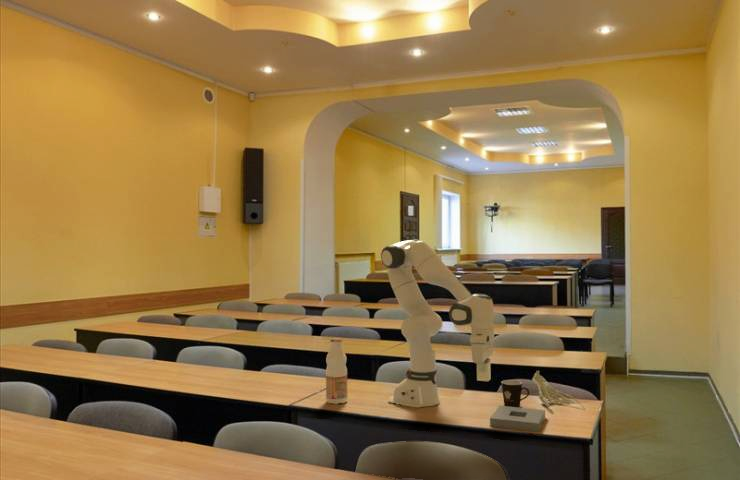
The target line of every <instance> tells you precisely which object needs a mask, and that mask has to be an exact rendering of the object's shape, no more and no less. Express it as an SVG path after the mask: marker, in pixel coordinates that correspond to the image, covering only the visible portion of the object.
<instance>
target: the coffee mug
mask: <svg viewBox="0 0 740 480" xmlns="http://www.w3.org/2000/svg"><path fill="white" fill-rule="evenodd" d="M500 383H501V390H502V397H503V404H504V405H503V406H508V407H518V408H521V402H522V401H523V400H525V399H527V398H528V397H529V395H530V391H529V389H528V388H527V387H524V386H523V382H522V381H520V380H514V379H506V380H505V379H504V380H502V381H501V382H500ZM522 386H523V387H522ZM523 390H526V392H527V394H526V396H524V397H523V398H522V391H523Z"/></svg>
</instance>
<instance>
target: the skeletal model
mask: <svg viewBox="0 0 740 480" xmlns="http://www.w3.org/2000/svg"><path fill="white" fill-rule="evenodd" d="M531 380H532V381H533V383H534V384H535V385H537V387H538V391H539V392H538V394H539V395H538V399H539V400H540V402H541V403H543V405H545V406H546V407H547V408H548V409H549V411H550V412H551V413H552V414H554V411H553V410H552V409H551V407H552V405H550V404H553V405H555V404H557V405H558V404H559V405H560V404H564V405H568V406H570V405H580V406H581V407H582V408H583V410H584V411H585V410H586V408H585V406H584V405H583V404H582V403H580V401H578V400H577V398H575V397H574V396H571V395H570V394H568V393H565V392H562V391H559V390H557V389H555V388H553V387H552V386H551V385H550V384H549V383H548V381H547V380H546V379H545V378H544V376H542V375H540V370H536V372H535V373H534V375H533V377H532V379H531ZM564 395H565V396H564ZM558 396H560V397H561V399H560V398H559V397H558ZM566 396H568V397H569V398H568V397H566ZM570 398H572V399H570ZM575 401H576V402H575Z"/></svg>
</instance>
